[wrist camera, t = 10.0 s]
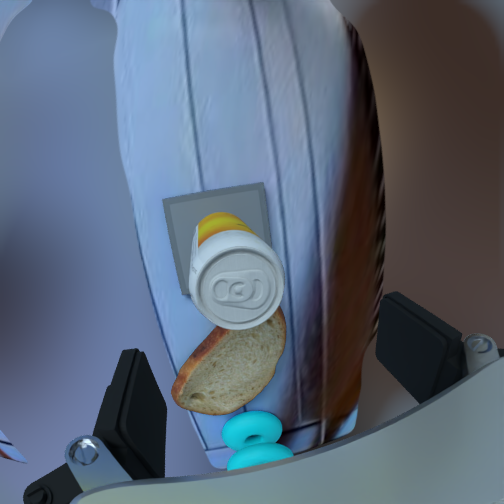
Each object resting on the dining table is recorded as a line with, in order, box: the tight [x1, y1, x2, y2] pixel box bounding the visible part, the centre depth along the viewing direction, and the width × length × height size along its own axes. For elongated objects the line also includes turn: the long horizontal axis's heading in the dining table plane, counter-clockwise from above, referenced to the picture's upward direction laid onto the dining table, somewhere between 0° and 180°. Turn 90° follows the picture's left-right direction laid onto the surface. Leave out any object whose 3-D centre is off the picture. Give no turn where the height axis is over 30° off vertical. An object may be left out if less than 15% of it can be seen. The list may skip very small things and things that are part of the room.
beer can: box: [189, 212, 285, 330], centre depth 24 cm, size 6×6×15 cm
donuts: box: [222, 411, 294, 470], centre depth 36 cm, size 10×10×10 cm
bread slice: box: [171, 306, 286, 415], centre depth 35 cm, size 18×18×4 cm
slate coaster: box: [162, 182, 272, 295], centre depth 31 cm, size 11×11×1 cm
